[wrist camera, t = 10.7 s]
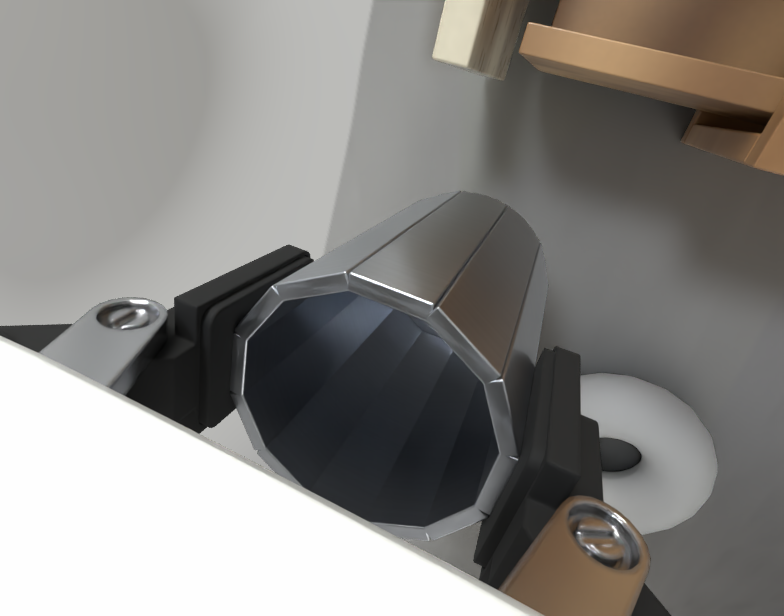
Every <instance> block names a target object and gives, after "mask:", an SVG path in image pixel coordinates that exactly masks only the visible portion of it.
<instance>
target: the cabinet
mask: <svg viewBox="0 0 784 616" xmlns="http://www.w3.org/2000/svg"><path fill="white" fill-rule="evenodd" d="M681 143H683V144H686V145H689V146H692V147H695V148H698V149H701V150H704V151H706V152H709V153H712V154H715V155H718V156H721V157H724V158H727V159H730V160H732V161H735V162H738V163H741V164H744V165H747V166H750V167H752V168H756V169H759V170H763V171H767V172H771V173H775V174H778V175H782V176H784V96H783V98H782V100H781V101H780V103H779V105H778V106H777V108H776V110H775V112H774V113H773V115H772V117H771V118H770V120H769V122H768V123H767V125H766V126H763V125H759V124H755V123H751V122H746V121H742V120H738V119H734V118H730V117H726V116H722V115H718V114H714V113H710V112H705V111H701V110H696V112H695V114H694V116H693V118H692V120H691V122H690V124H689V126H688V128H687V130H686V132H685V134H684V136H683V137H682V139H681Z"/></svg>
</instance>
